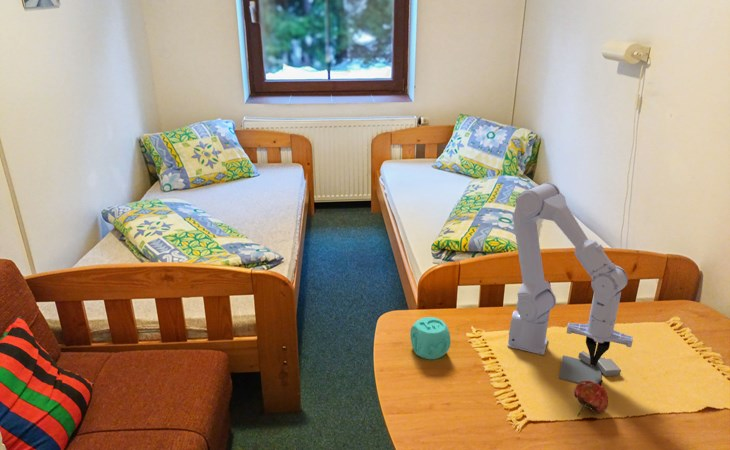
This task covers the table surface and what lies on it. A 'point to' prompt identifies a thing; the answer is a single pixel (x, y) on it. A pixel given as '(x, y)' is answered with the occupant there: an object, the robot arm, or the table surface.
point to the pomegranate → (591, 396)
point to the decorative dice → (430, 338)
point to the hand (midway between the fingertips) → (593, 363)
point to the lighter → (602, 364)
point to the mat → (578, 371)
